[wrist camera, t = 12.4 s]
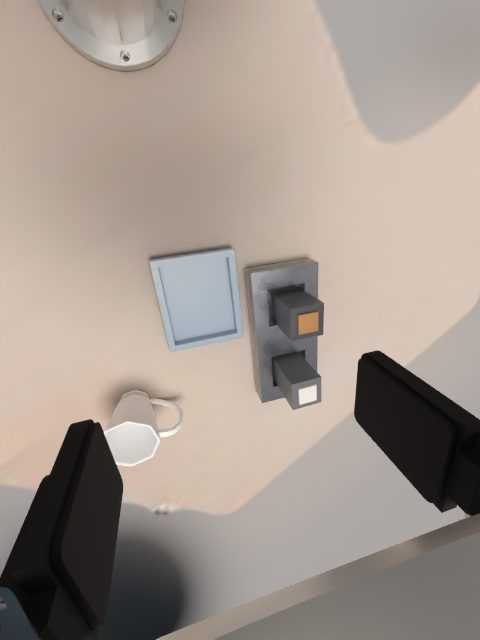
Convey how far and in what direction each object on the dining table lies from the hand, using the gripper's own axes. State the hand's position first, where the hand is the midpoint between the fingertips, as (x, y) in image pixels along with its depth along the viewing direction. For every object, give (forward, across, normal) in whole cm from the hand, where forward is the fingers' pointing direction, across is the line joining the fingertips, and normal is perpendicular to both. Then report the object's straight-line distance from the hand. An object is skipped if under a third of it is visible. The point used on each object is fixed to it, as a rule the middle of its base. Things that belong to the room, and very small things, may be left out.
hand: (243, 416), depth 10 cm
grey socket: (+28, -12, +12) cm, 33 cm away
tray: (+28, -1, +5) cm, 29 cm away
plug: (+27, -12, +17) cm, 34 cm away
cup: (+28, +9, +19) cm, 35 cm away
